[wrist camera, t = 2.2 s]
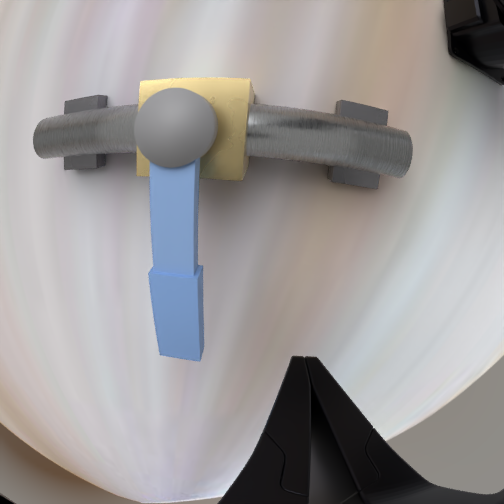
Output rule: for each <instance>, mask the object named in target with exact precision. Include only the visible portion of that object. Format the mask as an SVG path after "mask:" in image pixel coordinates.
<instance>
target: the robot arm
mask: <svg viewBox="0 0 504 504" xmlns="http://www.w3.org/2000/svg"><path fill="white" fill-rule="evenodd" d="M444 8H445V17H446V27H447V34H448V49H449V52H450V54H451V55H452V56H453V57H455V58H457V59H459V60H460V61H462V62H464V63H466V64H468V65H470V66H471V67H473V68H475V69H476V70H478V71H480V72H481V73H483V74H485V75H486V76H488V77H490V78H491V79H493V80H494V81H496V82H497V83H499V84H500V85H504V0H444ZM454 49H455V51H456V53H455V51H454ZM0 504H16V503H14V502H13V501H12V500H10V499H9V498H7V497H6V496H4V495H3V494H1V493H0ZM218 504H504V489H502V490H501V491H500V492H498V493H495V494H476V493H471V492H465V491H460V490H454V489H450V488H445V487H441V486H437V485H434V484H432V483H430V482H429V481H427V480H426V479H424V478H423V477H422V476H421V475H420V474H418V473H417V472H416V471H415V470H414V469H413V468H412V467H411V466H410V465H409V464H408V463H407V462H405V461H404V460H403V459H402V458H401V457H400V456H399V455H398V454H397V453H396V452H395V451H394V450H393V449H392V448H391V447H390V446H389V445H388V444H387V443H386V441H385V440H384V439H383V438H382V437H381V436H380V434H379V433H378V432H377V431H376V429H375V428H373V426H372V425H371V423H370V422H369V421H368V420H367V419H366V417H365V416H364V415H363V414H362V412H361V411H360V410H359V409H358V407H357V406H356V405H355V404H354V402H353V401H352V400H351V399H350V398H349V396H348V395H347V394H346V393H345V391H344V390H343V389H342V388H341V386H340V385H339V384H338V383H337V381H336V380H335V379H334V378H333V376H332V375H331V374H330V373H329V371H328V370H327V369H326V367H325V366H324V365H323V364H322V362H321V361H320V360H319V359H318V358H317V357H311V356H306V357H305V358H304V357H303V356H292V357H291V360H290V363H289V366H288V368H287V371H286V374H285V377H284V379H283V382H282V385H281V387H280V390H279V392H278V395H277V398H276V400H275V403H274V405H273V408H272V410H271V413H270V415H269V418H268V420H267V423H266V425H265V427H264V430H263V433H262V434H261V437H260V439H259V441H258V443H257V445H256V447H255V449H254V452H253V454H252V455H251V457H250V459H249V460H248V462H247V463H246V465H245V467H244V468H243V470H242V471H241V473H240V474H239V475H238V477H237V478H236V480H235V481H234V482H233V484H232V485H231V487H230V488H229V489H228V491H227V492H226V493H225V495H224V496H223V497H222V499H221V500H220V501H219V502H218Z"/></svg>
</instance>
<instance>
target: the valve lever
mask: <svg viewBox="0 0 504 504" xmlns="http://www.w3.org/2000/svg"><path fill="white" fill-rule="evenodd" d="M217 132H218V119H217V115H216V112H215V110H214V108H213V106H212V105H211V104H210V102H209V101H208V100H206V99H205V98H204V97H202V96H201V95H199V94H197V93H195V92H192V91H190V90H188V89H184V88H168V89H164V90H161V91H159V92H157V93H155V94H154V95H152V96H151V97H149V98H148V99H147V100H146V101H145V103H144V104H143V105H142V106H141V108H140V110H139V112H138V114H137V117H136V120H135V125H134V135H135V140H136V144H137V146H138V148H139V150H140V151H141V153H142V154H143V155H144V156H145V157H146V158H147V159H148V160H149V161H150V217H151V237H152V252H153V265H154V266H153V267H152V269H151V270H150V272H149V273H148V275H149V284H150V293H151V301H152V308H153V316H154V322H155V329H156V335H157V341H158V347H159V352H160V355H162V356H168V357H174V358H180V359H186V360H193V361H201V357H202V353H203V349H204V318H203V266H201V265H198V199H199V171H200V157H202V156H203V155H204V154H206V153H207V151H208V150H209V149H210V148H211V147H212V145H213V143H214V141H215V139H216V136H217Z"/></svg>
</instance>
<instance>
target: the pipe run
mask: <svg viewBox="0 0 504 504" xmlns="http://www.w3.org/2000/svg"><path fill="white" fill-rule="evenodd" d="M168 88H184V89H188V90H190V91H192V92H195V93H197V94H199V95H201V96H202V97H204V98H205V99H206V100H208V101H209V102H210V104H211V105H212V106H213V108H214V110H215V112H216V115H217V119H218V132H217V136H216V139H215V141H214V143H213V145H212V147H211V148H210V149H209V150H208V151H207V153H206V154H204V155H203V156H202V157H200V171H199V178H205V179H221V180H235V181H242V179H243V177H244V175H245V173H246V171H247V168H248V166H249V156H256V157H267V158H276V159H286V160H294V161H302V162H310V163H317V164H324V165H329V172H328V179H329V180H330V181H332V182H337V183H343V184H350V185H356V186H362V187H368V188H373V189H377V188H378V183H379V177H380V174H381V175H386V176H391V177H395V178H401V177H403V176H404V175H405V174H406V173H407V171H408V169H409V167H410V164H411V160H412V152H413V148H412V141H411V137H410V135H409V134H408V133H407V132H406V131H403V130H400V129H396V128H393V127H389V126H387V119H388V111H386V110H383V109H379V108H375V107H371V106H367V105H363V104H359V103H354V102H350V101H345V100H340V101H337V104H336V114H330V113H324V112H318V111H312V110H305V109H298V108H290V107H281V106H272V105H261V104H254V96H255V93H254V90H253V86H252V83H251V80H250V79H242V78H175V79H159V80H148V81H140V92H139V104H135V105H125V106H115V107H107V108H106V105H107V96H103V95H95V96H89V97H84V98H79V99H74V100H69V101H65V108H64V115H59V116H55V117H50V118H46V119H43V120H42V121H40V122H39V124H38V125H37V127H36V129H35V132H34V136H33V145H34V149H35V152H36V153H37V155H38V156H39V157H41V158H43V159H47V158H56V157H64V170H70V169H91V168H99V167H102V166H105V154H108V153H136V152H137V176H150V161H149V160H148V159H147V158H146V157H145V156H144V155H143V154H142V153H141V151H140V150H139V148H138V146H137V144H136V140H135V135H134V125H135V120H136V117H137V114H138V112H139V110H140V108H141V106H142V105H143V104H144V103H145V101H146V100H147V99H148V98H149V97H151V96H152V95H154V94H155V93H157V92H159V91H161V90H164V89H168Z"/></svg>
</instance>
